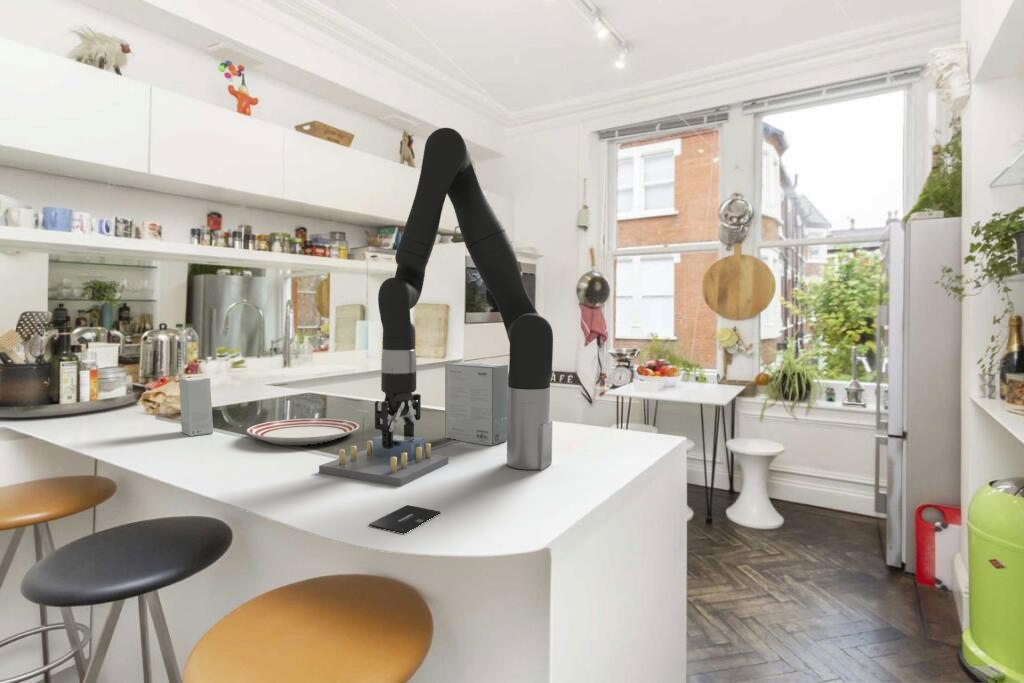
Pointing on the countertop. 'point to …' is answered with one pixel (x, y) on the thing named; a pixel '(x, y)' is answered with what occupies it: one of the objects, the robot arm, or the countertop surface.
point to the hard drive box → (476, 402)
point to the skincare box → (196, 406)
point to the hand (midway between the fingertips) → (398, 444)
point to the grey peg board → (383, 466)
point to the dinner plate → (302, 431)
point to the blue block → (398, 447)
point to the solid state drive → (404, 519)
